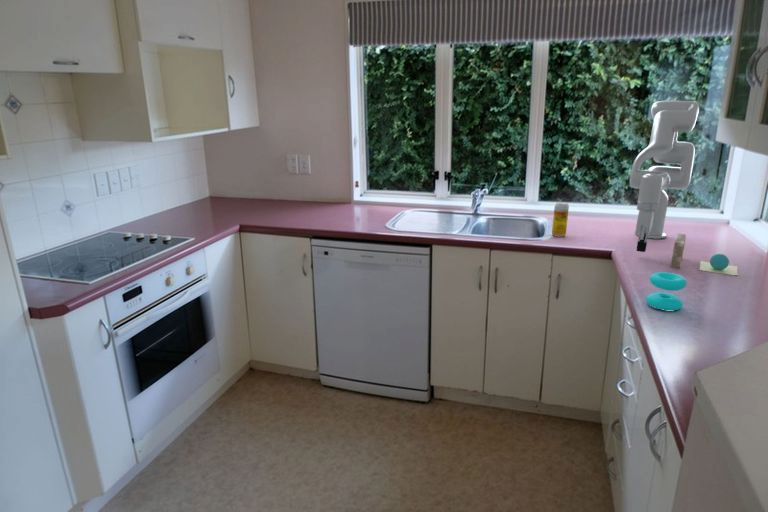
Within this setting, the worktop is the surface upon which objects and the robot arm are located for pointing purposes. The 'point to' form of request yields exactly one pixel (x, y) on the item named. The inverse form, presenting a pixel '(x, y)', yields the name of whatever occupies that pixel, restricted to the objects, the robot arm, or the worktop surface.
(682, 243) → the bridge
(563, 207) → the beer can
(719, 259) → the ball
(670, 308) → the donuts
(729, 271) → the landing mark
